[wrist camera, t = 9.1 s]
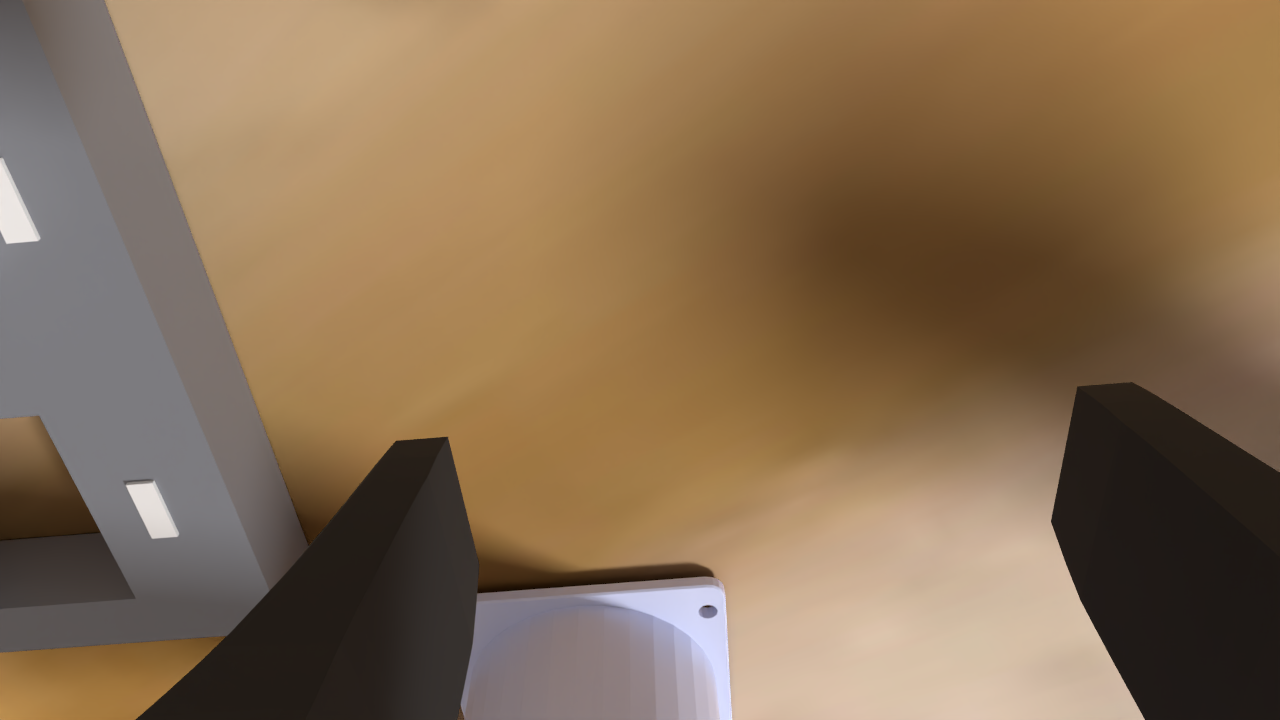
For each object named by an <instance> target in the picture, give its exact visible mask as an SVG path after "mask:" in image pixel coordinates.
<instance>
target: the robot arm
mask: <svg viewBox="0 0 1280 720" xmlns="http://www.w3.org/2000/svg"><path fill="white" fill-rule="evenodd" d="M1051 523H1052V526H1053V529H1054V531H1055V534H1056V537H1057V540H1058V542H1059V545H1060V548H1061V551H1062V554H1063V556H1064V559H1065V562H1066V565H1067V567H1068V570H1069V572H1070V575H1071V577H1072V580H1073V582H1074V585H1075V587H1076V590H1077V593H1078V595H1079V598H1080V600H1081V602H1082V604H1083V606H1084V608H1085V610H1086V612H1087V613H1088V615H1089V617H1090V619H1091V621H1092V623H1093V625H1094V627H1095V629H1096V630H1097V632H1098V634H1099V636H1100V638H1101V640H1102V642H1103V643H1104V645H1105V647H1106V649H1107V651H1108V653H1109V655H1110V657H1111V658H1112V660H1113V662H1114V664H1115V666H1116V668H1117V669H1118V671H1119V673H1120V675H1121V677H1122V679H1123V680H1124V682H1125V684H1126V686H1127V688H1128V689H1129V691H1130V693H1131V695H1132V697H1133V699H1134V700H1135V702H1136V704H1137V706H1138V708H1139V710H1140V711H1141V713H1142V715H1143V717H1144V719H1145V720H1280V472H1278V471H1276V470H1275V469H1273V468H1271V467H1270V466H1268V465H1266V464H1265V463H1263V462H1262V461H1260V460H1258V459H1257V458H1255V457H1254V456H1252V455H1250V454H1249V453H1247V452H1246V451H1244V450H1242V449H1241V448H1239V447H1238V446H1236V445H1234V444H1233V443H1231V442H1230V441H1228V440H1227V439H1225V438H1223V437H1222V436H1220V435H1219V434H1217V433H1215V432H1214V431H1212V430H1211V429H1209V428H1208V427H1206V426H1204V425H1203V424H1201V423H1200V422H1198V421H1196V420H1195V419H1193V418H1192V417H1190V416H1188V415H1187V414H1185V413H1184V412H1182V411H1180V410H1179V409H1177V408H1176V407H1174V406H1172V405H1171V404H1169V403H1167V402H1166V401H1164V400H1162V399H1161V398H1159V397H1157V396H1156V395H1154V394H1152V393H1151V392H1149V391H1147V390H1145V389H1144V388H1142V387H1140V386H1138V385H1136V384H1134V383H1133V382H1130V383H1117V384H1105V385H1092V386H1080V387H1077V392H1076V397H1075V402H1074V407H1073V412H1072V417H1071V422H1070V427H1069V432H1068V438H1067V443H1066V448H1065V453H1064V458H1063V463H1062V468H1061V473H1060V478H1059V484H1058V489H1057V494H1056V499H1055V504H1054V509H1053V514H1052V519H1051ZM478 575H479V562H478V558H477V554H476V550H475V546H474V541H473V537H472V533H471V529H470V525H469V521H468V517H467V513H466V509H465V505H464V501H463V497H462V493H461V489H460V485H459V480H458V476H457V472H456V468H455V464H454V460H453V456H452V452H451V448H450V444H449V440H448V437H440V438H427V439H414V440H402V441H396V442H395V443H394V444H393V445H392V446H391V447H390V448H389V450H388V451H387V452H386V453H385V454H384V456H383V457H382V458H381V459H380V460H379V461H378V463H377V464H376V465H375V466H374V468H373V469H372V470H371V471H370V473H369V474H368V475H367V476H366V478H365V479H364V480H363V481H362V482H361V484H360V485H359V486H358V487H357V489H356V490H355V491H354V492H353V494H352V495H351V496H350V497H349V499H348V500H347V501H346V502H345V504H344V505H343V506H342V507H341V508H340V510H339V511H338V512H337V513H336V515H335V516H334V517H333V518H332V519H331V521H330V522H329V523H328V524H327V526H326V527H325V528H324V529H323V530H322V531H321V533H320V534H319V535H318V536H317V537H316V538H315V540H314V541H313V542H312V543H311V544H310V545H309V547H308V548H307V549H306V550H305V551H304V552H303V554H302V555H301V556H300V557H299V558H298V560H297V561H296V562H295V563H294V564H293V565H292V567H291V568H290V569H289V570H288V571H287V572H286V573H285V575H284V576H283V577H282V578H281V579H280V580H279V581H278V582H277V583H276V584H275V586H274V587H273V588H272V589H271V590H270V591H269V592H268V593H267V594H266V595H265V596H264V597H263V598H262V599H261V600H260V602H259V603H258V604H257V605H256V606H255V607H254V608H253V609H252V610H251V611H250V612H249V613H248V614H247V615H246V616H245V618H244V619H243V620H242V621H241V622H240V623H239V624H238V625H237V626H236V627H235V628H234V629H233V630H232V631H231V632H230V633H229V634H228V635H227V636H226V637H225V638H224V639H223V640H222V641H221V642H220V643H219V644H218V645H217V646H216V647H215V648H214V649H213V650H212V651H211V652H210V653H209V654H208V655H207V656H206V657H205V658H204V659H203V660H202V661H201V662H200V663H199V664H197V665H196V666H195V667H194V668H193V669H192V670H191V671H190V672H189V673H188V674H187V675H185V676H184V677H183V678H182V679H181V680H180V681H179V682H178V683H177V684H175V685H174V686H173V687H172V688H171V689H170V690H169V691H168V692H167V693H166V694H164V695H163V696H162V697H161V698H160V699H159V700H158V701H157V702H156V703H154V704H153V705H152V706H151V707H150V708H149V709H147V710H146V711H145V712H144V713H143V714H142V715H140V716H139V717H138V718H137V719H136V720H457V719H458V714H459V709H460V705H461V708H462V712H463V715H464V718H465V719H464V720H732V710H731V692H730V674H729V655H728V637H727V618H726V600H725V590H724V586H723V583H722V582H721V581H720V580H719V579H716V578H713V577H693V578H679V579H666V580H652V581H639V582H625V583H612V584H598V585H585V586H571V587H558V588H544V589H531V590H518V591H504V592H491V593H477V589H478ZM706 605H712V606H711V607H708V608H707V607H702V606H706Z"/></svg>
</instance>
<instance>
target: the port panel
mask: <svg viewBox="0 0 1280 720" xmlns="http://www.w3.org/2000/svg"><path fill="white" fill-rule="evenodd" d="M27 416H40V418H41V420H42V422H43V424H44V426H45V428H46V430H47V431H48V433H49V435H50V437H51V439H52V441H53V443H54V445H55V447H56V449H57V450H58V452H59V454H60V456H61V458H62V460H63V462H64V464H65V466H66V467H67V469H68V471H69V473H70V475H71V477H72V479H73V481H74V483H75V484H76V486H77V488H78V490H79V492H80V494H81V496H82V498H83V500H84V501H85V503H86V505H87V507H88V509H89V511H90V513H91V515H92V517H93V518H94V520H95V522H96V524H97V526H98V528H99V530H100V532H101V533H93V534H80V535H67V536H54V537H41V538H29V539H16V540H3V541H0V652H14V651H27V650H41V649H54V648H68V647H82V646H95V645H109V644H122V643H136V642H150V641H163V640H177V639H191V638H204V637H218V636H227V635H228V634H229V633H230V632H231V631H232V630H233V629H234V628H235V627H236V626H237V625H238V624H239V623H240V622H241V621H242V620H243V619H244V618H245V616H246V615H247V614H248V613H249V612H250V611H251V610H252V609H253V608H254V607H255V606H256V605H257V604H258V603H259V602H260V600H261V599H262V598H263V597H264V596H265V595H266V594H267V593H268V592H269V591H270V590H271V589H272V588H273V587H274V586H275V584H276V583H277V582H278V581H279V580H280V579H281V578H282V577H283V576H284V575H285V573H286V572H287V571H288V570H289V569H290V568H291V567H292V565H293V564H294V563H295V562H296V561H297V560H298V558H299V557H300V556H301V555H302V554H303V552H304V551H305V550H306V549H307V548H308V547H309V546H308V544H307V541H306V538H305V535H304V533H303V530H302V527H301V525H300V522H299V519H298V517H297V514H296V511H295V509H294V506H293V503H292V501H291V498H290V495H289V493H288V490H287V487H286V485H285V482H284V479H283V477H282V474H281V471H280V469H279V466H278V463H277V461H276V458H275V455H274V453H273V450H272V447H271V445H270V442H269V439H268V437H267V434H266V431H265V429H264V426H263V423H262V421H261V418H260V415H259V413H258V410H257V407H256V405H255V402H254V399H253V397H252V394H251V391H250V389H249V386H248V383H247V381H246V378H245V375H244V373H243V370H242V367H241V365H240V362H239V359H238V357H237V354H236V351H235V349H234V346H233V343H232V341H231V338H230V335H229V333H228V330H227V327H226V324H225V322H224V319H223V316H222V314H221V311H220V308H219V306H218V303H217V300H216V298H215V295H214V292H213V290H212V287H211V284H210V282H209V279H208V276H207V274H206V271H205V268H204V266H203V263H202V260H201V258H200V255H199V252H198V250H197V247H196V244H195V242H194V239H193V236H192V234H191V231H190V228H189V226H188V223H187V220H186V218H185V215H184V212H183V210H182V207H181V204H180V202H179V199H178V196H177V194H176V191H175V188H174V186H173V183H172V180H171V178H170V175H169V172H168V170H167V167H166V164H165V162H164V159H163V156H162V154H161V151H160V148H159V146H158V143H157V140H156V138H155V135H154V132H153V130H152V127H151V124H150V122H149V119H148V116H147V113H146V111H145V108H144V105H143V103H142V100H141V97H140V95H139V92H138V89H137V87H136V84H135V81H134V79H133V76H132V73H131V71H130V68H129V65H128V63H127V60H126V57H125V55H124V52H123V49H122V47H121V44H120V41H119V39H118V36H117V33H116V31H115V28H114V25H113V23H112V20H111V17H110V15H109V12H108V9H107V7H106V4H105V1H104V0H0V419H3V418H15V417H27Z"/></svg>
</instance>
